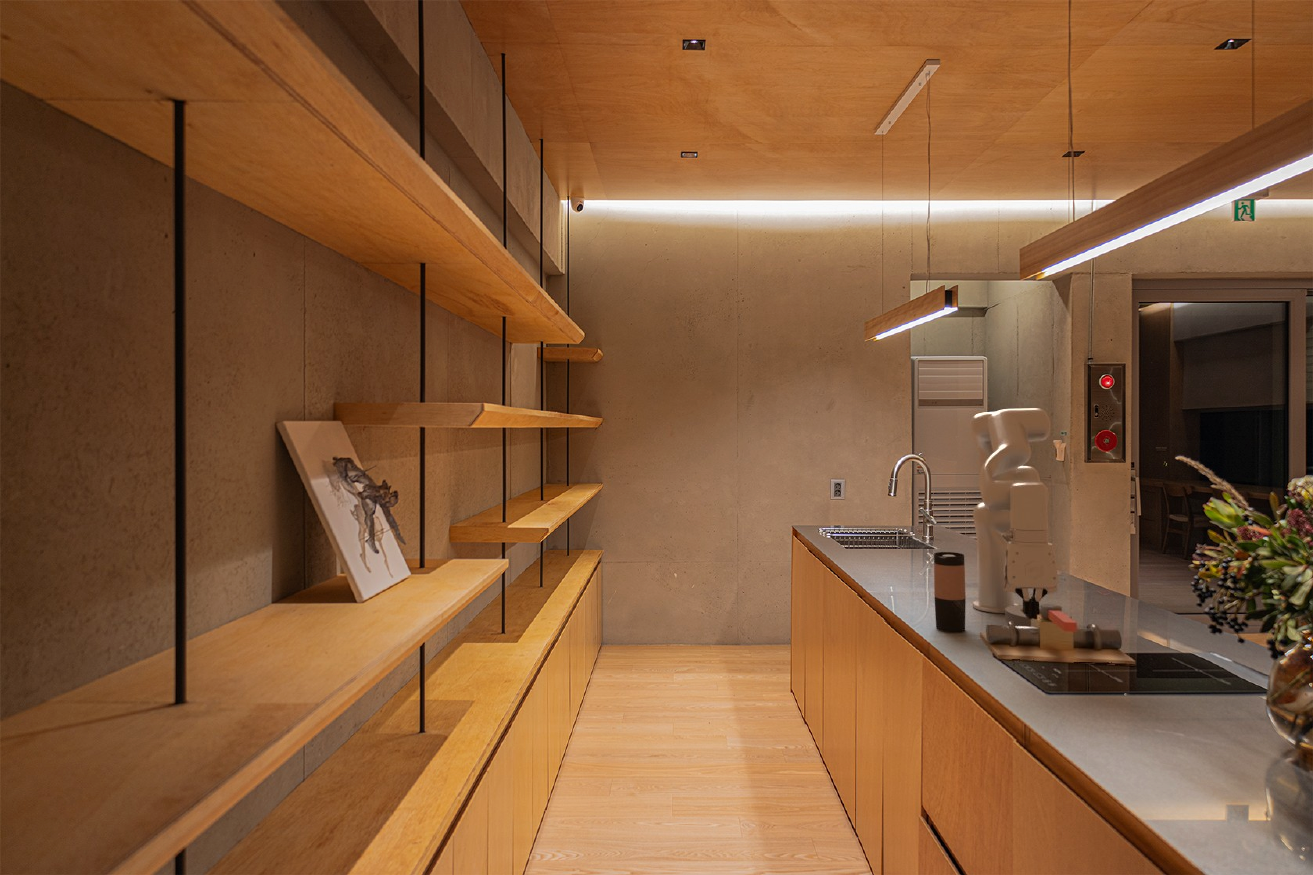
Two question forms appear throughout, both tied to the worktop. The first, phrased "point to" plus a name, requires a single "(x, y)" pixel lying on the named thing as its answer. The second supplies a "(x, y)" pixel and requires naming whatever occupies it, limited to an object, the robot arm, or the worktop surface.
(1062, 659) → the mount board
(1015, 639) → the valve
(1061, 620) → the lever
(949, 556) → the travel mug
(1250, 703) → the worktop surface
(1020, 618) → the tape roll
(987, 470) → the robot arm
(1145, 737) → the worktop surface
